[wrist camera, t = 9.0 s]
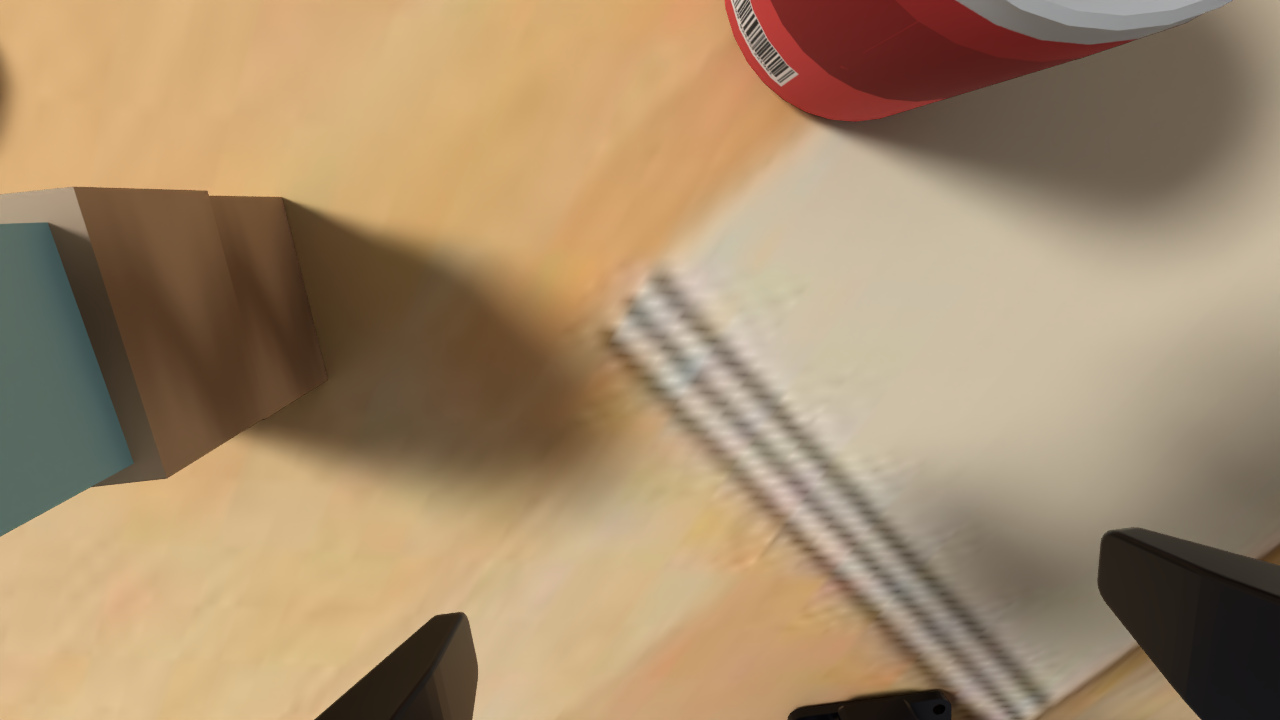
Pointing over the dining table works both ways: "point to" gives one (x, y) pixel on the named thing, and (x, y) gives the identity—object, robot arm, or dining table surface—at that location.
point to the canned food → (928, 45)
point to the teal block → (48, 385)
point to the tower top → (154, 317)
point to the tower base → (270, 297)
